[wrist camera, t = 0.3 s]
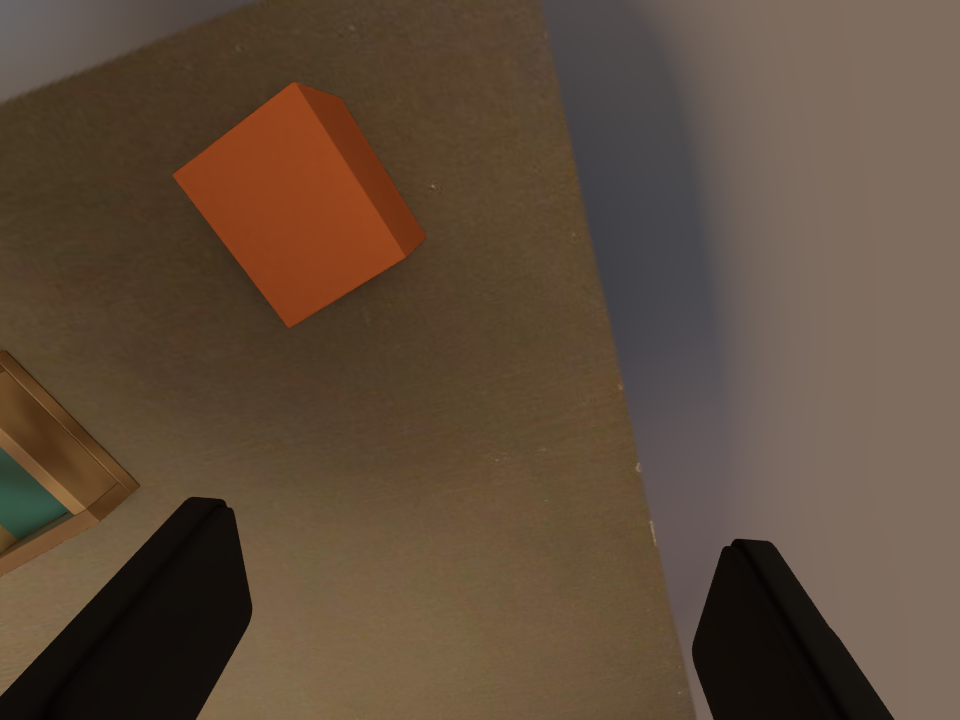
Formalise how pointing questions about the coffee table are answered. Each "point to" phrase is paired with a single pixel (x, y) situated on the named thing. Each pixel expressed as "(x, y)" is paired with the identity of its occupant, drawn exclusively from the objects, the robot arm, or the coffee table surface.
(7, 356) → the holder
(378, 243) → the orange block
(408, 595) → the coffee table surface
